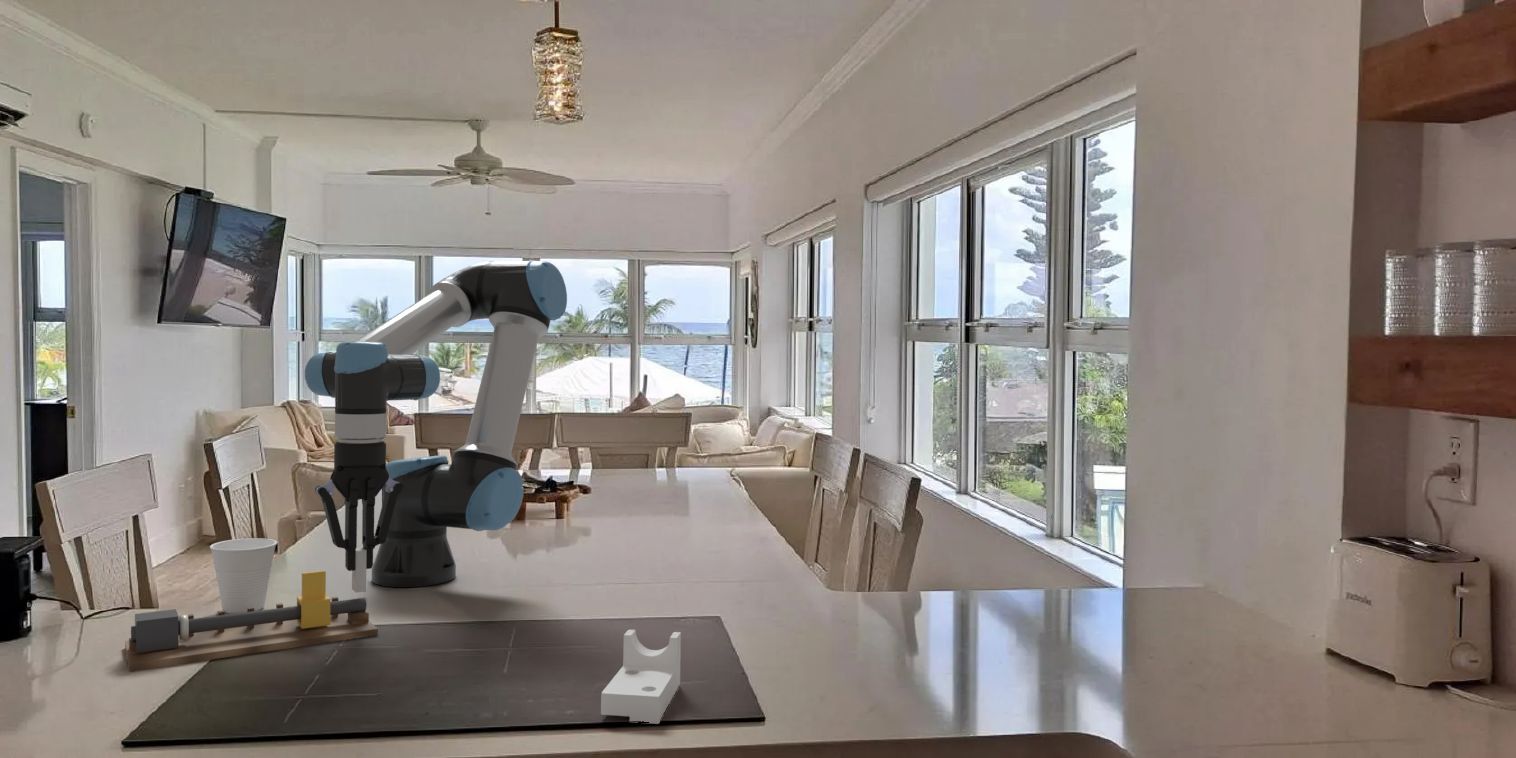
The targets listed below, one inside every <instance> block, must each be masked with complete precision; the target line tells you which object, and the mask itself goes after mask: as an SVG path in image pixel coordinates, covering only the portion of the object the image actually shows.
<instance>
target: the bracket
mask: <svg viewBox="0 0 1516 758" xmlns="http://www.w3.org/2000/svg"><path fill="white" fill-rule="evenodd" d="M637 636H638V635H637V633H636V629H628V630H627V631H626V632H625V633H624V634H623V654H622V655H623V656H622V658H623V661H622V663H623V665H622V667H620V669H619V670H618V672H617V673H615V675H614V676H613V678H612V679H611V680H610V681H609V683H608V684H607V685H606V687H605V688H604V689H603V690H602V692H601V693H600V695H601V696H600V715H601V716H603V715H604V716H619V717H629V722H630V721H641V722H642V721H644V722H649V723H648V724H656V725H659V724H660V722H661V721H660V719H661V717H662V715H663V713H664V712H665V710H666V708H667V706H668V704H669V703H670V701H671V699H672V697H673V695H674V694H675V691H676V690H677V687H678V685H680V686H681V653H682V652H681V649H682V648H681V647H682V646H681V644H682V643H681V642H682V640H681V639H682V633H681V632H680V631H673V632H672V634H671V635H670V637H669V642H668V645H666V646H664V647H663V648H661V649H657V650H656V649H650V648H648V647H645V646H644V644H642V643H641V642H640V641H639V639H638V637H637ZM670 704H671V703H670ZM666 711H667V710H666ZM665 713H666V712H665ZM663 716H664V715H663ZM662 718H663V717H662ZM661 720H662V719H661Z"/></svg>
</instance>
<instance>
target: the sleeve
mask: <svg viewBox="0 0 1516 758" xmlns="http://www.w3.org/2000/svg"><path fill="white" fill-rule="evenodd" d="M326 572H327V571H326V570H324V569H322V570H321V569H320V570H313V571H312V570H311V571H304V572H303V571H302V572H301V595H299V596H297V595H296V606H301V619H297V623H298V625H299V626H300V627H301V628H302V629H304V628H311V627H318V626H326V625H330V602H331V598H330V597H329V596H328V595H327V594H326V590H327V589H326V588H327V587H326V583H327V582H326V579H327V578H326V577H327V576H326V575H327V573H326Z"/></svg>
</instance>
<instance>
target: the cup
mask: <svg viewBox="0 0 1516 758" xmlns="http://www.w3.org/2000/svg"><path fill="white" fill-rule="evenodd" d="M277 545H278V542H277V541H276V540H275V539H271V538H263V537H261V538H260V537H259V538H257V537H251V538H249V537H248V538H237V539H228V540H223V541H218V542H214V543H212V544H211V545H210V546H209V549H210V550H211V554H212V560H213V565H214V570H215V576H216V580H217V585H218V586H217V587H218V592H219V597H220V598H219V599H220V604H221V609H222V610H224V613H225V614H228V615H229V614H237V613H245V612H247V607H254V611H261V610H263V608H264V607H265V603H266V598H267V591H268V589H269V588H268V586H269V581H270V577H271V576H270V575H271V571H272V570H271V569H272V564H273V561H274V555H275V550H276V546H277ZM222 610H221V611H222Z"/></svg>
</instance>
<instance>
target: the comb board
mask: <svg viewBox="0 0 1516 758" xmlns="http://www.w3.org/2000/svg"><path fill="white" fill-rule="evenodd" d="M334 601H339V597H338V596H332V597H331V602H334ZM275 605H276V608H275V609H277V608H284V604H283V603H282V602H280V603H276V604H275ZM253 611H254V607H247V612H253ZM369 614H370V613H369V611H368V610H367V609H366V610H365V611H359V612H351V613H343V614H336V615H330V625H326V626H318V627H311V628H304V629H302V628H301V627H300V626H299V625H298V623H297V620H290V621H282V622H274V623H267V624H259V625H251V626H244V627H236V628H228V629H221V630H213V631H205V632H198V633H190V634H189V637H188V639H183V640H180V639H179V635H178V647H177V648H170V649H163V650H155V651H148V652H141V653H136V641H131V637H130V638H128V640H125V642H124V649H125V654H126V662H127V667H128V672H134V671H142V670H147V669H148V670H149V669H155V668H162V667H168V666H169V667H170V666H176V665H181V664H183V665H184V664H189V663H190V664H191V663H197V662H202V661H203V662H204V661H211V660H217V659H222V658H230V657H238V656H244V655H250V654H257V653H265V652H273V651H279V650H286V649H291V648H299V647H307V646H313V645H319V644H320V645H321V644H327V643H333V642H340V641H347V639H348V640H352V639H351V638H355V639H362V638H367V637H368V636H369V637H374V636H373V635H376V636H379V633H378V631H379V630H378V627H377V626H376V625H374V623H372V622H371V620H370V619H369V618H370V617H369ZM187 615H188V619H195V618H194V617H195V615H194V614H193V613H189V614H187ZM220 615H225V611H224V610H217V616H220ZM369 637H368V638H369Z"/></svg>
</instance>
